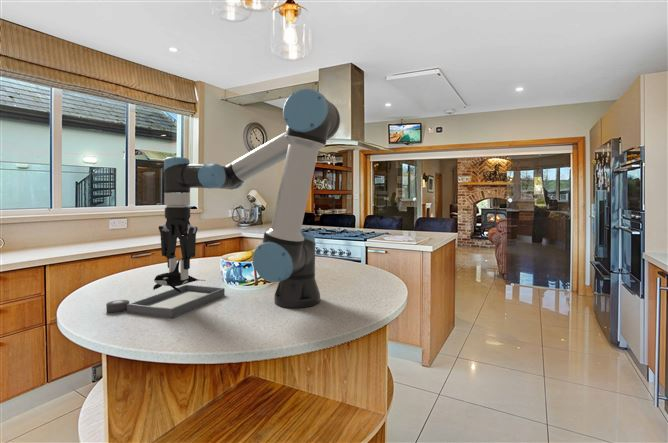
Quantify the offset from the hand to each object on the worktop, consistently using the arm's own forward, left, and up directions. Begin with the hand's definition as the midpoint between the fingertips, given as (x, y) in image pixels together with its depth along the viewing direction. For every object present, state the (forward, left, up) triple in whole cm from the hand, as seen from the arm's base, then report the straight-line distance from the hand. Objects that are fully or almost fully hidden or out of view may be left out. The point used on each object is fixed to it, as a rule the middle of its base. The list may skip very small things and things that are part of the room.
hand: (178, 278), depth 117 cm
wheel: (+12, +12, -8) cm, 19 cm away
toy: (0, 0, -3) cm, 3 cm away
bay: (0, 0, -8) cm, 8 cm away
